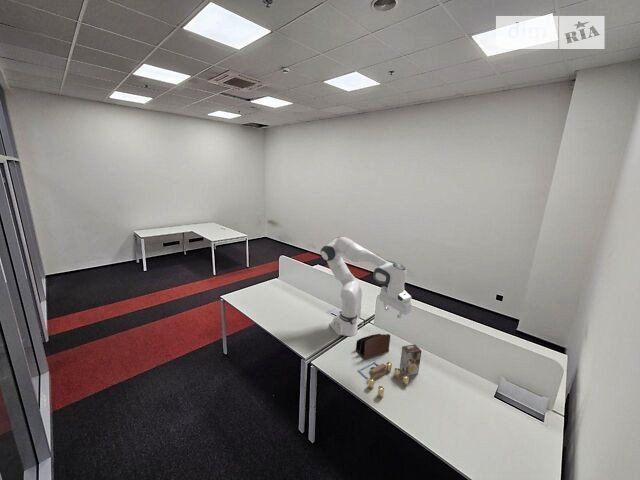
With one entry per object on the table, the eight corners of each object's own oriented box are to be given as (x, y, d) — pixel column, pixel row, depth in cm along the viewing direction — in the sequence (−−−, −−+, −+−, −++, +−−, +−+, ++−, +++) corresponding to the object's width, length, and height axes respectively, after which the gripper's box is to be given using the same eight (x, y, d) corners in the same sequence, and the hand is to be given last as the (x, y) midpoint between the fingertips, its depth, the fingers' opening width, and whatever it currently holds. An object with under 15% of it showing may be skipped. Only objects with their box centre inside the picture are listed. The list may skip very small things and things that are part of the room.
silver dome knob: (370, 375, 155) (371, 372, 154) (369, 369, 159) (369, 366, 158) (378, 375, 155) (378, 372, 154) (376, 369, 159) (376, 367, 159)
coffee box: (412, 366, 163) (415, 343, 158) (418, 373, 157) (422, 350, 153) (399, 368, 160) (402, 346, 156) (404, 376, 154) (408, 353, 150)
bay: (358, 370, 157) (358, 369, 157) (374, 361, 165) (374, 360, 165) (366, 378, 152) (367, 377, 151) (383, 369, 159) (383, 368, 159)
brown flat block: (370, 378, 152) (371, 369, 151) (382, 371, 158) (383, 363, 156) (373, 381, 150) (374, 372, 149) (385, 374, 156) (386, 365, 154)
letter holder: (388, 351, 175) (391, 333, 171) (363, 360, 167) (365, 340, 163) (379, 343, 184) (381, 325, 180) (355, 350, 175) (356, 331, 172)
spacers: (363, 383, 149) (363, 375, 147) (388, 368, 160) (388, 361, 159) (383, 402, 137) (384, 394, 136) (408, 384, 149) (409, 377, 147)
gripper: (378, 286, 155) (375, 307, 159) (406, 301, 139) (403, 323, 143) (385, 283, 159) (382, 304, 163) (414, 298, 143) (410, 320, 147)
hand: (392, 313), depth 153 cm, fingers open, 8 cm apart
